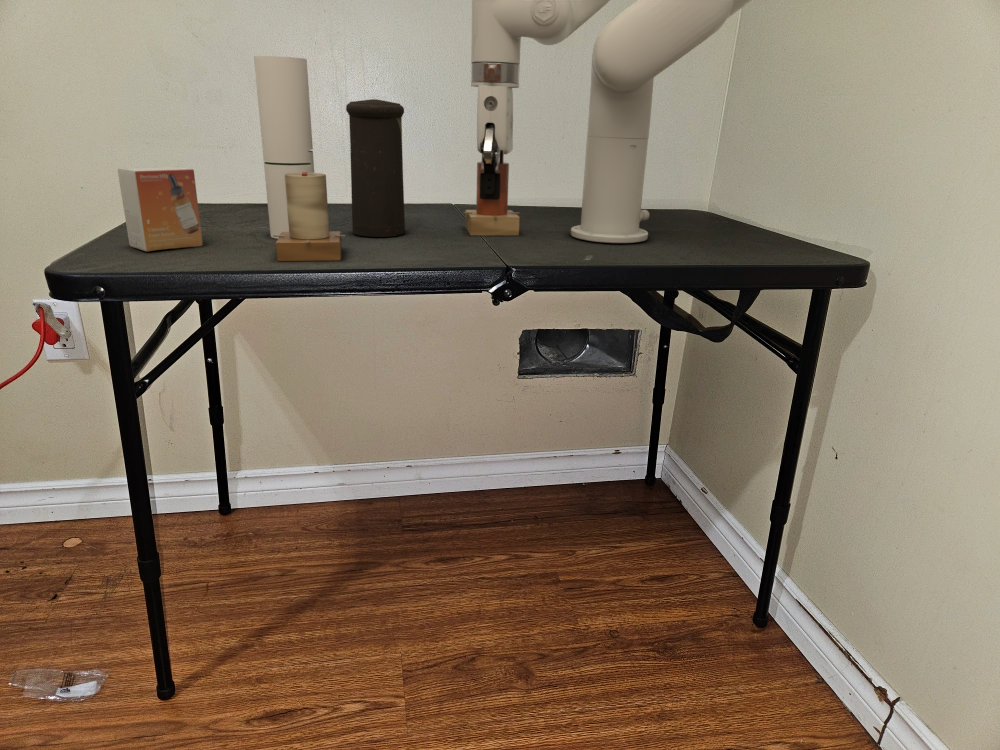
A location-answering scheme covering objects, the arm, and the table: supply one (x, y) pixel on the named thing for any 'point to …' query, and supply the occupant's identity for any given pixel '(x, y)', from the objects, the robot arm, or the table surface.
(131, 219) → the small box
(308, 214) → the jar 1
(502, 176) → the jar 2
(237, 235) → the table surface
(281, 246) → the base
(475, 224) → the base
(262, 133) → the cylindrical container
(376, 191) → the container
